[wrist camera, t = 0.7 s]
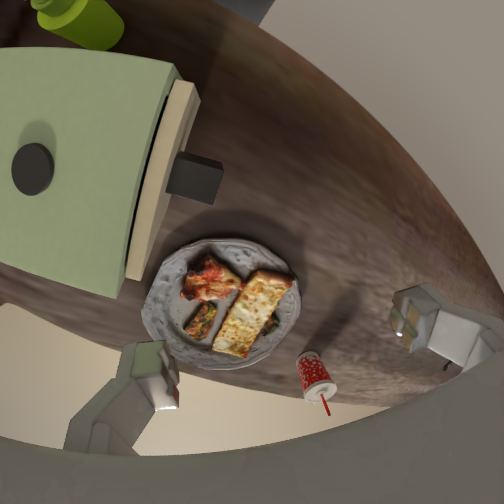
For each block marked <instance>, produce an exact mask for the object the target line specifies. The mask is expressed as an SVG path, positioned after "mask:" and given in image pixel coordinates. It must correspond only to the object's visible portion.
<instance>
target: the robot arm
mask: <svg viewBox="0 0 504 504" xmlns="http://www.w3.org/2000/svg"><path fill="white" fill-rule="evenodd" d="M392 302H393V304H394V306H393V308H392V309H391V310H390V315H389V321H390V325H391V328H392V330H393V331H394V333H395V334H397V335H399V336H402V338H401V342H402V343H403V345H404V346H405V347H406V349H407V350H408V351H409V353H411V352H413V351H416V350H419V349H421V348H424V347H427V348H429V349H431V350H433V351H435V352H436V353H438V354H440V355H442V356H444V357H445V358H447V359H449V360H451V361H453V362H454V363H456V364H458V365H460V366H462V367H463V369H462V371H461V373H460V375H458V376H456V377H454V378H452V379H451V380H449V381H447V382H445V383H443V384H441V385H439V386H437V387H435V388H433V389H431V390H429V391H427V392H425V393H423V394H421V395H419V396H416V397H414V398H412V399H410V400H408V401H405V402H403V403H401V404H398V405H396V406H394V407H391V408H389V409H386V410H384V411H381V412H378V413H376V414H373V415H370V416H368V417H365V418H362V419H359V420H357V421H353V422H351V423H348V424H344V425H341V426H339V427H335V428H332V429H328V430H325V431H321V432H318V433H314V434H310V435H306V436H302V437H298V438H294V439H290V440H285V441H281V442H276V443H271V444H266V445H261V446H255V447H250V448H243V449H236V450H228V451H220V452H212V453H202V454H188V455H168V456H140V455H138V454H137V453H136V452H135V451H134V450H133V449H132V446H133V445H134V443H135V442H136V440H137V439H138V437H139V436H140V434H141V433H142V431H143V429H144V428H145V427H146V425H147V424H148V422H149V421H150V419H151V418H152V416H153V415H154V413H155V410H161V409H172V408H178V407H179V391H178V389H177V387H176V386H177V385H178V383H179V369H178V365H177V361H176V359H175V357H174V356H172V355H171V354H170V352H171V347H170V345H169V343H168V341H167V340H158V341H148V342H139V343H128V344H125V345H124V346H123V350H122V354H121V358H120V362H119V366H118V370H117V374H116V378H113V379H111V380H110V381H109V382H108V383H107V384H106V385H105V386H104V387H103V388H102V389H101V390H100V391H99V392H98V393H97V394H96V395H95V396H94V397H93V398H92V399H91V400H90V401H89V402H88V403H87V404H86V405H85V406H84V407H83V408H82V409H81V410H80V411H79V412H78V413H77V414H76V415H75V416H74V417H73V418H72V419H71V420H70V423H69V427H68V431H67V434H66V439H65V443H64V447H63V450H62V449H55V448H49V447H44V446H39V445H34V444H29V443H24V442H21V441H16V440H13V439H8V438H5V437H1V436H0V504H504V321H503V320H502V319H501V318H498V317H495V316H492V315H489V314H486V313H483V312H480V311H477V310H474V309H471V308H468V307H465V306H462V305H459V304H456V303H453V304H451V303H450V302H449V301H448V300H447V299H446V298H445V297H444V296H443V295H442V294H441V293H440V292H439V291H438V290H437V289H435V288H434V287H433V286H432V285H431V284H430V283H427V282H425V283H422V284H419V285H416V286H413V287H410V288H407V289H404V290H400V291H397V292H395V293H394V295H393V298H392Z"/></svg>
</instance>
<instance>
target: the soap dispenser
mask: <svg viewBox="0 0 504 504" xmlns="http://www.w3.org/2000/svg"><path fill="white" fill-rule="evenodd" d="M25 1H26V0H25ZM31 6H32V7H33V8H34V9H36V10H38V14H37V19H38V23H39V25H40V26H41V27H42V28H44V29H46V30H49V31H51V32H53V33H55V34H57V35H60V36H62V37H64V38H66V39H68V40H70V41H72V42H75V43H77V44H79V45H81V46H83V47H85V48H87V49H89V50H98V51H105V50H108V49H110V48H111V47H113V46H114V45H115V44H116V43H117V42H118V41H119V40H120V38H121V37H122V35H123V32H124V22H123V20H122V19H121V17H120V16H119V15H118V14H117V13H116V12H115V11H114V10H113V9H112V8H111V7H110V6H109V5H108V4H107V2H106V1H105V0H31Z"/></svg>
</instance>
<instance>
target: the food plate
mask: <svg viewBox="0 0 504 504" xmlns="http://www.w3.org/2000/svg"><path fill="white" fill-rule="evenodd" d="M191 242H192V241H191ZM143 306H144V307H142V308H143V309H141V313H142V320H143V324H144V326H145V328H146V330H147V331H148V333H149V335H150V336H151V337H152V338H153V340H155V341H158V340H167V341H168V343H169V345H170V347H171V352H170V354H171V355H172V356H174V357H175V359H176V360H180V361H181V362H184V363H186V364H189V365H192V366H197V367H200V368H202V369H206V370H221V369H222V370H223V369H224V370H230V369H237V368H242V367H247V366H249V365H252V364H254V363H256V362H258V361H259V360H261V359H262V358H264V357H267V356H268V355H269V354H270V353H271V352H272V351H273V350H274V349H275V348H276V349H277V347H278V346H279V345H280V344H281V342H282V341H283V340H284V338H285V337H286V336H287V334H288V333H289V331H290V330H291V329H290V328H291V327H292V326H293V325H294V323H295V322H296V320H297V318H299V315H300V312H301V307H302V298H301V293H300V290H299V284H298V278H297V276H296V275H295V273H294V272H293V271H292V270H291V268H290V266H289V264H288V263H287V262H286V261H285V260H284V259H282V258H281V257H280V256H279V255H278V254H276V253H274V252H273V251H271V250H270V249H268V248H267V247H265V246H263V245H262V244H260V243H258V242H256V241H254V240H249V239H247V238H243V237H227V238H226V237H224V238H223V237H222V238H221V237H219V238H218V237H216V238H214V237H205V238H202V239H197V240H196V241H194V242H192V244H191V245H190V244H186V245H184V246H182V247H181V248H180V249H179V250H178V251H173V252H172V253H171V254H170V255H169V256H168V257H167V258H166V259H165V260H164V261H163V262H162V265H161V267H160V269H159V271H158V273H157V276H156V278H155V280H154V282H153V284H152V286H151V289H150V292H149V294H148V295H147V298H146V301H145V305H143ZM279 343H280V344H279ZM278 344H279V345H278ZM276 349H275V350H276ZM275 350H274V351H275ZM274 351H273V352H274ZM273 352H272V353H273ZM272 353H271V354H272ZM271 354H270V355H271Z"/></svg>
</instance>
